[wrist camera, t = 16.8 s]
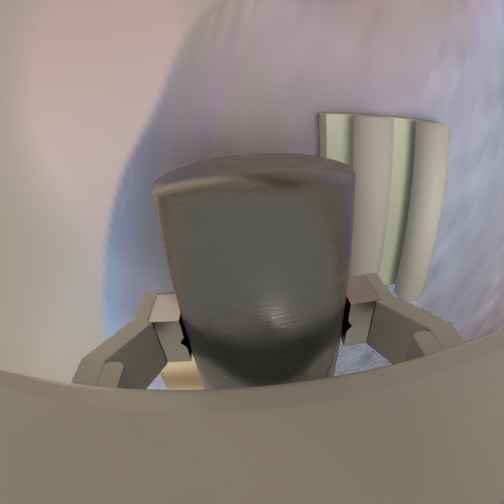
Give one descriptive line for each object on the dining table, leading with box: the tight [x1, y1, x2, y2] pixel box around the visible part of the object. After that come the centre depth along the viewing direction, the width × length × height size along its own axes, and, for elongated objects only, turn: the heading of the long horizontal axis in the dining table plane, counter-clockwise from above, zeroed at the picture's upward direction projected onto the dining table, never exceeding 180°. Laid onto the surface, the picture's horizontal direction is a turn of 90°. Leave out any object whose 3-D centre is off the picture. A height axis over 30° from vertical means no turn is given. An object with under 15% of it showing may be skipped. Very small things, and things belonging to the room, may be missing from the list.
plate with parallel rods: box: [319, 113, 450, 301], centre depth 23 cm, size 16×12×5 cm
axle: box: [152, 153, 356, 390], centre depth 10 cm, size 12×5×5 cm, turn 5°
